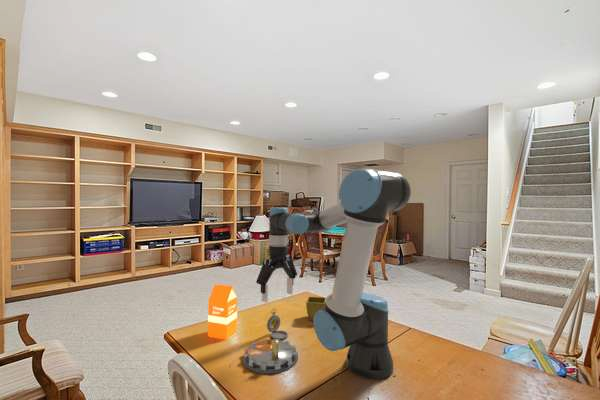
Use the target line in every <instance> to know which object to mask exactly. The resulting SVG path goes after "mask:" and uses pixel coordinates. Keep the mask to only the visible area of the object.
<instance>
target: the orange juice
mask: <svg viewBox="0 0 600 400" xmlns="http://www.w3.org/2000/svg"><path fill="white" fill-rule="evenodd" d="M207 305H208V308H207V311H208V312H207V313H208V315H207V337H208V336H209V338H214V339H221V340H226V341H227V340H229V339H230V338H231V337H232V336H233V335H235V334H236V333H237V330H238V328H237V327H238V326H237V325H238V296H237V294H236V291H235V289H234V287H233V285H226V284H225V285H223V284H215V283H214V285H213V288H212V290H211V293H210V295H209V299H208V304H207Z"/></svg>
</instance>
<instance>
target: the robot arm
mask: <svg viewBox="0 0 600 400" xmlns="http://www.w3.org/2000/svg"><path fill="white" fill-rule="evenodd" d="M411 189H412V188H411V185H410V182H409V181H408V179H406V177H405V176H404V175H402V174H400V173H398V172H395V171H394V172H393V171H387V170H386V171H385V170H378V169H373V168H357V169H354V170H352V171H350V172H349V173H348V174H347V175H345V176H344V178H343V180H342V181H341V183H340V185H339V190H338V199H339V200H340V201H339V203H337V204H335V205H332V206H329V207H327V208H325V209H323V210H320V211H317V212H297V213H293V212H290V213H289V209H288V208H287V207H271V208H270V210H269V216H268V217H269V218H268V219H269V222H268V223H269V224H268V225H269V228H268V229H269V230H268V231H269V235H268V236H269V237H268V240H269V241H268V243H269V244H268V245H269V246H268V254H269V258H263V260H262V264H261V268H260V271H259V273H258V276H257V278H256V282H255V284H257V285H260V294H261V301H262V302H264V303H268V302H269V301H268V299H269V298H268V295H269V294H268V293H269V292H268V291H269V289H268V288H269V286H268V284H267V283H268V282H269V280H270V279H271V277H272V275H273V272H274V271H276V270H279V269H283V271H284V272H285V274H286V275H287V278H286V294H289V295H293V289H294V287H293V285H294V280H295V279H296V277H297V276H298V273H297V269H296V265H295V264H294V261H293V256H292V255H291V254H288V242H289V239H288V237H289V236H288V233H291V234H294V235H302V234H305V233H313V232H315V233H316V232H328V231H330V230H332V228H334V227H337V226H339V225H342V224H343V225H344V224H346V226H345V230H344V236H343V239H342V244H341V249H340V253H339V254H340V256H339V259H338V264H337V269H336V273H335V278H334V282H333V288H332V293H330V294H329V295H327V296H325V297H326V300H325V305H324V309H323V310H319V311H318V312H316V314H315V315H314V320H313V330H314V333H315V335H316V337H317V339H318V341H319V343H320V344H321V345H322V347H324V348H325V349H326V350H329V351H330V352H336V351H340V350H344V349H345V348H348V351H347V353H346V366H347V369H348V370H349V371H350V372H352V373H353V374H355V375H356V376H358V377H361V378H365V379H371V380H381V379H386V378H388V377H390V376H391V375H392V374H393V372H394V360H393V357H392V354H391V350H390V347H389V334H388V333H389V312H390V311H389V305H388V302H387V300H386V299H385V298H383V297H381V296H379V295H376V294H373V293H372V294H371V293H364V289H365V285H366V280H367V277H368V276H367V275H368V272H369V268H370V267H369V266H370V262H371V260H372V254H373V250H374V245H375V241H376V236H377V233H378V228H379V227H380V226H382V225H384V224H385V223H386V220H387V215H388V213H391V212H396V211H399V210H401V209H403V208H404V207H406V205H407V204H408V202H409V201H410V199H411V193H412V190H411Z"/></svg>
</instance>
